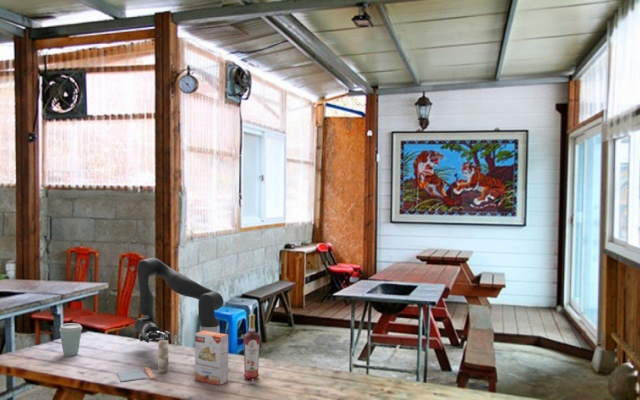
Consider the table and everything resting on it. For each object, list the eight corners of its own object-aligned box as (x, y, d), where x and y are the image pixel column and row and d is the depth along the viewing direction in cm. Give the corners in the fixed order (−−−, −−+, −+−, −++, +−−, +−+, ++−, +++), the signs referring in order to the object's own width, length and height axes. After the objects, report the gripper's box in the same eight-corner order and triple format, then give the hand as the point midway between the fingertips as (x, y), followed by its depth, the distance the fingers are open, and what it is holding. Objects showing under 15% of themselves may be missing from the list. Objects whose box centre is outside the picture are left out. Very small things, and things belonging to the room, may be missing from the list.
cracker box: (193, 380, 232) (194, 332, 232) (203, 376, 237) (203, 329, 237) (219, 386, 225) (220, 336, 225) (228, 382, 230) (228, 333, 230)
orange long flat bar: (148, 368, 248) (148, 367, 248) (155, 378, 233) (155, 377, 233) (144, 369, 247) (144, 367, 247) (150, 379, 232) (150, 378, 232)
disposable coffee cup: (86, 351, 273) (86, 322, 273) (74, 358, 262) (74, 327, 263) (66, 351, 274) (67, 322, 274) (54, 357, 264) (54, 326, 264)
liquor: (244, 381, 231) (244, 317, 231) (241, 376, 238) (242, 313, 238) (260, 380, 233) (261, 316, 233) (258, 375, 240) (259, 313, 240)
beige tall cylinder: (166, 369, 246) (167, 339, 246) (168, 372, 242) (169, 341, 242) (157, 371, 244) (157, 340, 244) (159, 373, 240) (159, 342, 240)
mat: (140, 370, 244) (140, 369, 244) (144, 378, 233) (144, 377, 233) (117, 373, 239) (117, 372, 239) (120, 382, 229) (120, 380, 229)
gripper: (136, 325, 265) (142, 333, 250) (165, 323, 271) (172, 330, 257) (136, 340, 265) (141, 349, 250) (165, 337, 271) (172, 346, 257)
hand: (157, 339), depth 254 cm, fingers open, 8 cm apart
